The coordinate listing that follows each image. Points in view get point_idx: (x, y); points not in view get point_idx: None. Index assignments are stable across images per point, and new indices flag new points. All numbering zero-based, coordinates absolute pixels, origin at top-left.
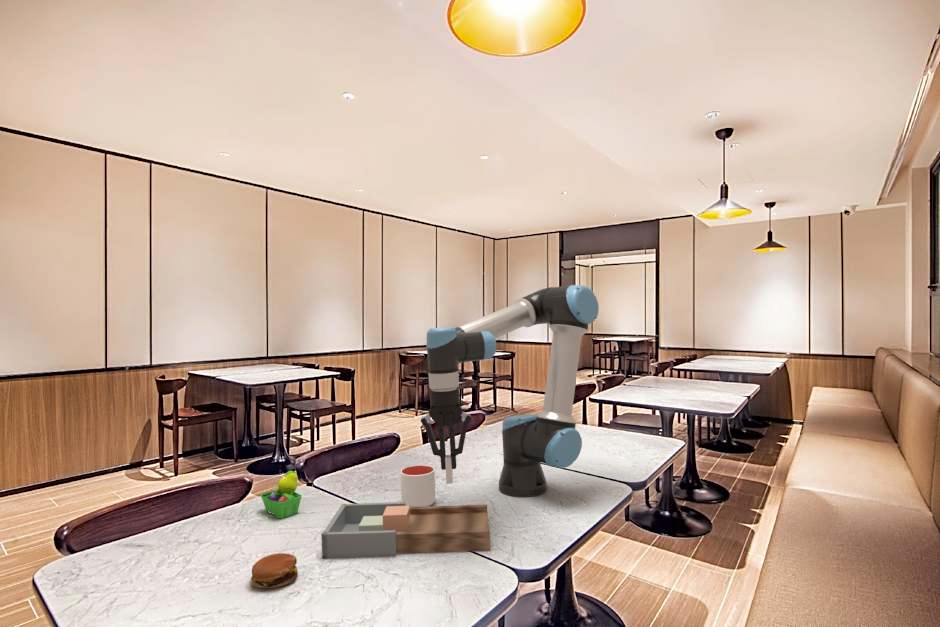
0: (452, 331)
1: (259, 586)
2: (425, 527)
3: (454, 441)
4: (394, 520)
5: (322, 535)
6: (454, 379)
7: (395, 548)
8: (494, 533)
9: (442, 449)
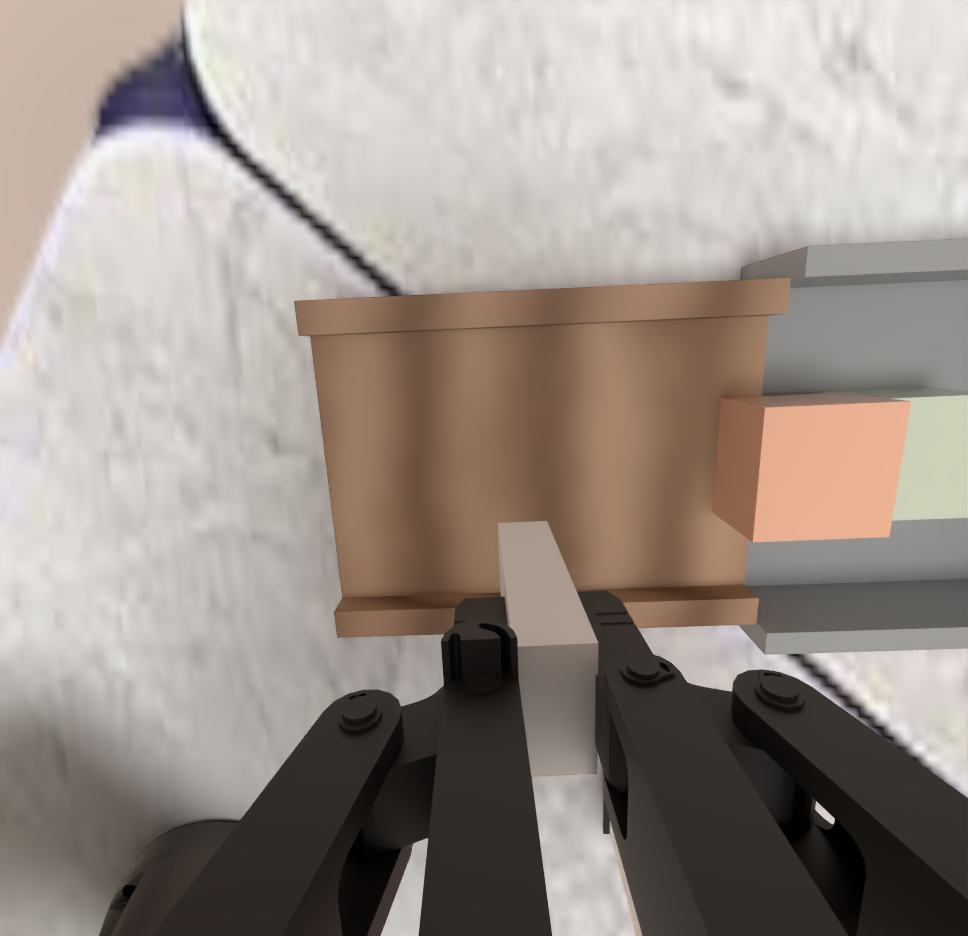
0: None
1: None
2: (633, 435)
3: (427, 906)
4: (820, 401)
5: None
6: None
7: (761, 262)
8: (321, 478)
9: (676, 743)
